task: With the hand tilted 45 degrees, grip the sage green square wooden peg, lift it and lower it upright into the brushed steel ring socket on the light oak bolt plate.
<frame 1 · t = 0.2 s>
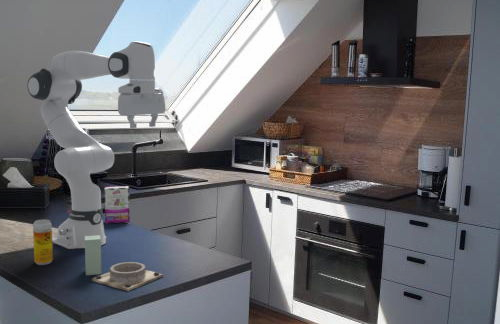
hand: (143, 127, 193), 48 cm above the worktop, tool pointing down, fingers open, 8 cm apart
candy bar box: (117, 222, 252), on the worktop
green peg: (93, 272, 183), on the worktop
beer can: (43, 263, 192), on the worktop
bolt socket plate: (128, 278, 177), on the worktop
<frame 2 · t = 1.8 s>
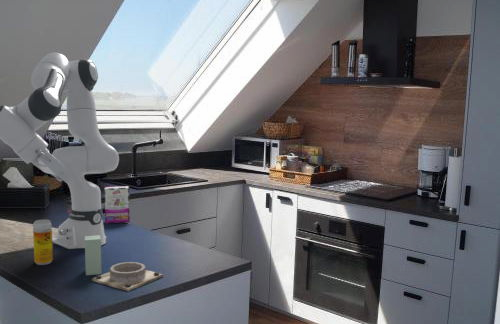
hand: (65, 180, 175), 32 cm above the worktop, tool tilted 40°, fingers open, 8 cm apart
nothing on the worktop moved.
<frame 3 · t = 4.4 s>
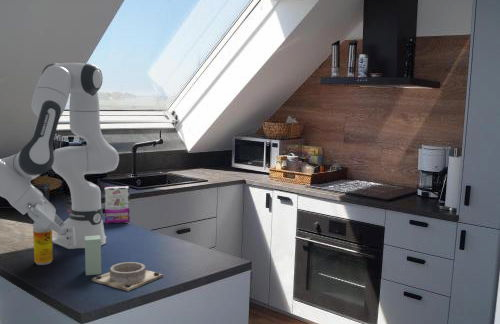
hand: (62, 229, 178), 16 cm above the worktop, tool tilted 45°, fingers open, 8 cm apart
nothing on the worktop moved.
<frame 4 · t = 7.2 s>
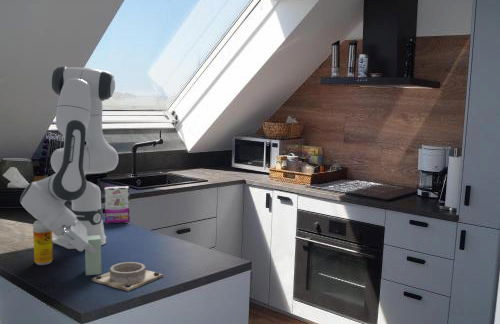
hand: (94, 249, 182), 8 cm above the worktop, tool tilted 45°, fingers closed on green peg, 5 cm apart
green peg: (93, 272, 183), on the worktop, touching gripper
everything else where it was.
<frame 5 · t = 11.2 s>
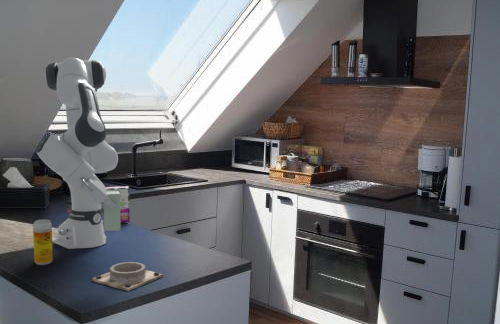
hand: (113, 205, 176), 24 cm above the worktop, tool tilted 45°, fingers closed on green peg, 5 cm apart
green peg: (112, 229, 177), point 16 cm above the worktop, touching gripper
everything else where it was.
when the fingers open (10 cm above the worktop, at t = 15.3 s): green peg drops 1 cm, resting on bolt socket plate.
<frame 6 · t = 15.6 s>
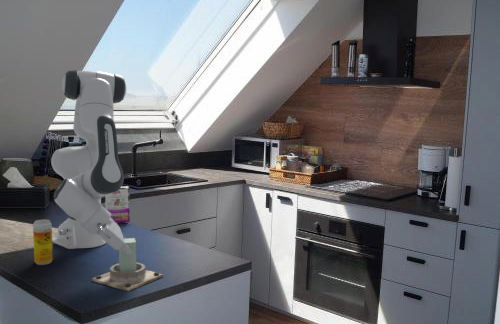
hand: (129, 248, 176), 10 cm above the worktop, tool tilted 45°, fingers open, 8 cm apart
green peg: (127, 276, 177), point 1 cm above the worktop, touching bolt socket plate
everything else where it was.
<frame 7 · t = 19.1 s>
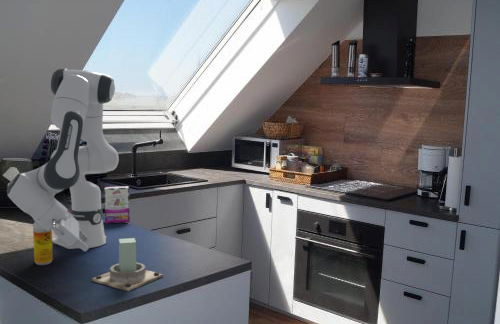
hand: (86, 244, 172), 12 cm above the worktop, tool tilted 45°, fingers open, 8 cm apart
nothing on the worktop moved.
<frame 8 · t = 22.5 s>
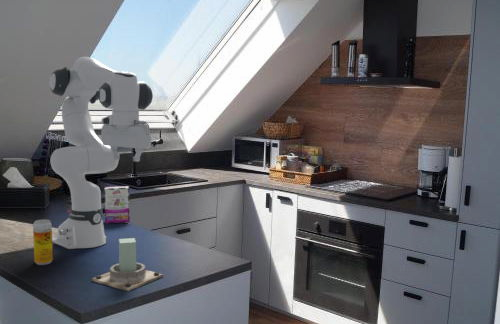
hand: (126, 160, 186), 37 cm above the worktop, tool pointing down, fingers open, 8 cm apart
nothing on the worktop moved.
at the end: green peg 0.1 cm off-centre on the bolt socket plate, point 0.8 cm above the bolt socket plate's base; green peg tilted 0°; the gripper is holding nothing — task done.
